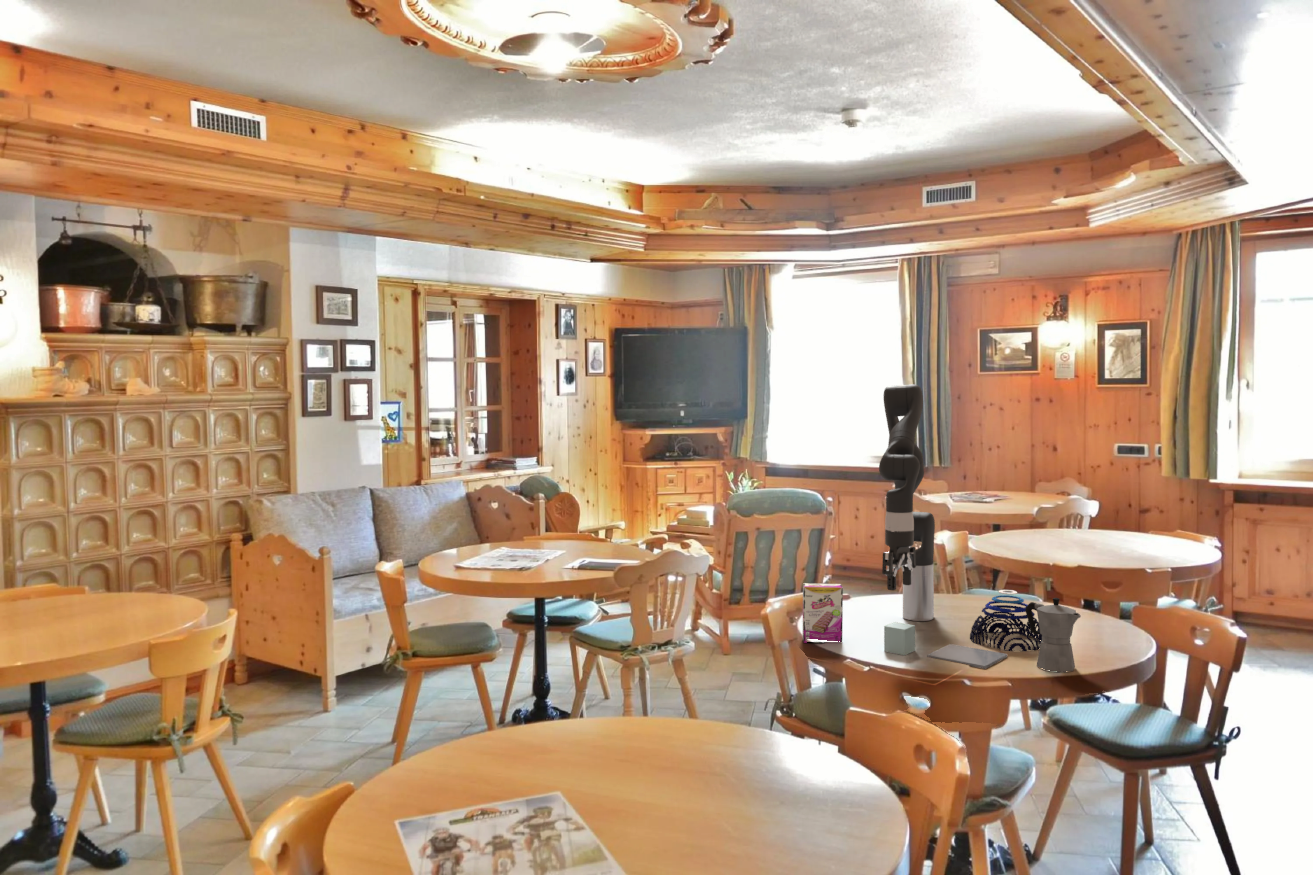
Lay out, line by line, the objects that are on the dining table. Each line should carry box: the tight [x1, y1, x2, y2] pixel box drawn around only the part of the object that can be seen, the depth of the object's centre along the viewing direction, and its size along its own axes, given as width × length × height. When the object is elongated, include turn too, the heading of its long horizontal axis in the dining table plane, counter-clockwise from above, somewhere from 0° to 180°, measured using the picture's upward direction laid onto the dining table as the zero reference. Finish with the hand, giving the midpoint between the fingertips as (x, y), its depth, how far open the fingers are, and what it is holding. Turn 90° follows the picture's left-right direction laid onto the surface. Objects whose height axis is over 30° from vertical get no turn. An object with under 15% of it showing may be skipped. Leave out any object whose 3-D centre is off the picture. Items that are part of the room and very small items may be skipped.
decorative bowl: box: [969, 589, 1042, 652], centre depth 266 cm, size 20×20×14 cm
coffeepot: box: [1024, 597, 1082, 673], centre depth 242 cm, size 15×9×18 cm, turn 33°
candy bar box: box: [802, 582, 844, 644], centre depth 269 cm, size 11×5×16 cm, turn 84°
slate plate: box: [926, 643, 1008, 670], centre depth 251 cm, size 14×16×1 cm
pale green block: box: [883, 621, 916, 656], centre depth 257 cm, size 6×6×7 cm
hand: (899, 587), depth 256 cm, fingers open, 8 cm apart
